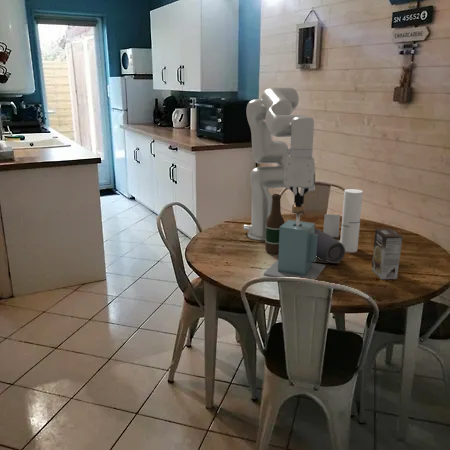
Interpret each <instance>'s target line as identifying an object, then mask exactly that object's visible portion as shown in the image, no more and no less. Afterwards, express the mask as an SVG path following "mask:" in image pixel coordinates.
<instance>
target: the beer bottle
mask: <svg viewBox="0 0 450 450" xmlns="http://www.w3.org/2000/svg"><path fill="white" fill-rule="evenodd" d="M271 195H272V207H271V213H270V215H269V216H268V218H267V221H266V239H265V240H264V241H265V242H264V243H265V244H264V246H265V247H264V248H265V251H266V253H267V254H270V255H279V232H280V226H282V225H283V224H284V223H285V222H286V221H285V219H284V217H283V215H282V211H281V198H282V197H281V194H279V193H274V194H271Z"/></svg>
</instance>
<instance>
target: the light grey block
mask: <svg viewBox="0 0 450 450" xmlns="http://www.w3.org/2000/svg"><path fill="white" fill-rule="evenodd" d="M323 217H324V219H323V220H324V221H323V231H322V232H324V233H326V234H328V235H329V236H331V237H333V238H339V237H340V235H339V234H340V223H341V214H330V213H329V214H328V213H324V216H323Z"/></svg>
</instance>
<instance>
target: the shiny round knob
mask: <svg viewBox="0 0 450 450" xmlns="http://www.w3.org/2000/svg"><path fill="white" fill-rule="evenodd" d="M291 206H292V207H291V213H293V214H295V216H296V217H295V221H296V226H298V227H299V221H301V220H300V218H301V217H300V216H301V214H305V210H306V209H305V208H306V206H305V205H304V204H302V206H300V207H298V206H295V203H294V204H292V205H291Z"/></svg>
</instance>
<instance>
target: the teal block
mask: <svg viewBox="0 0 450 450" xmlns="http://www.w3.org/2000/svg"><path fill="white" fill-rule="evenodd" d="M284 222H285V223H284V224H283V225H282V226H280V232H279V254H278V257H277V258H278V259H276V261H275V262H273V264H272V265H271V266H270V267H269V268H267V269H266V271H265V272H263V275H264V276H267V277H272V278H277V277H300V278H308V279H316V280H317V279H318V277H319V276H320V274H321V273H322V272H323V270H324V269H325V268H326V264H322V263H316V262H317V257H316V255H317V240H318V234H314V231H315V227H316V223H314V222H307V221H302V220H300V221H299V227H298V226H296V220H293V219H292V220H291V219H287V220H286V221H284Z"/></svg>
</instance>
